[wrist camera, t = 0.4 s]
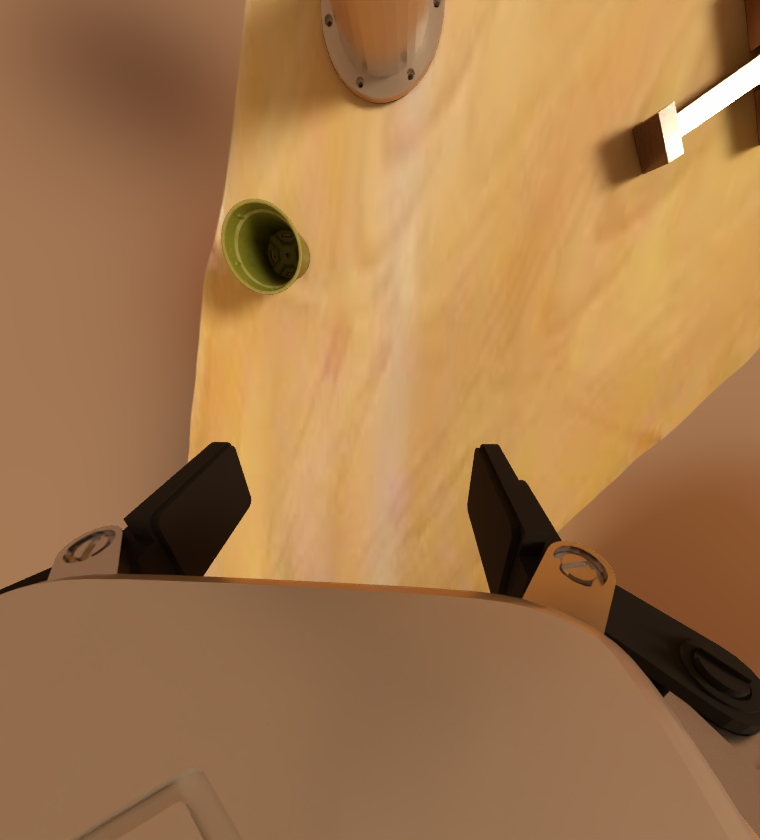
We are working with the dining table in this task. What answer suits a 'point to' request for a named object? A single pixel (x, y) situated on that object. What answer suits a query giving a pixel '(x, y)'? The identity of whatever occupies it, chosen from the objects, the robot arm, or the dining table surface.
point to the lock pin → (689, 117)
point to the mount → (754, 42)
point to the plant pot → (263, 247)
